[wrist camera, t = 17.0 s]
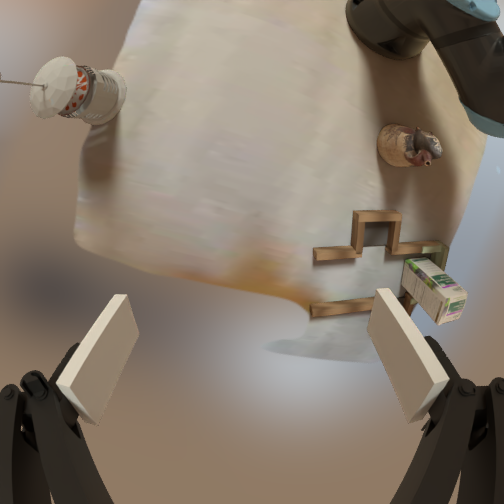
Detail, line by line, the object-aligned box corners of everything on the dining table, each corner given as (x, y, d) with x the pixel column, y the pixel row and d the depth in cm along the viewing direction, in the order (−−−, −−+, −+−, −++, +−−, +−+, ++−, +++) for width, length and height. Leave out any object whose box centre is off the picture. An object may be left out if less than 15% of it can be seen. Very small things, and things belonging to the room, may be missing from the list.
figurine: (416, 148, 39) (461, 155, 28) (392, 174, 41) (435, 188, 30) (393, 116, 37) (437, 114, 26) (368, 142, 39) (408, 146, 28)
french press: (104, 135, 36) (-11, 149, 13) (61, 105, 33) (-49, 106, 10) (138, 84, 34) (37, 43, 11) (91, 57, 31) (-10, 21, 8)
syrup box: (426, 255, 47) (469, 291, 34) (421, 281, 50) (460, 320, 36) (404, 258, 47) (446, 297, 34) (400, 285, 50) (437, 327, 36)
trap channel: (307, 334, 53) (311, 347, 49) (314, 211, 43) (321, 218, 39) (419, 316, 53) (427, 326, 50) (442, 210, 44) (454, 216, 40)
